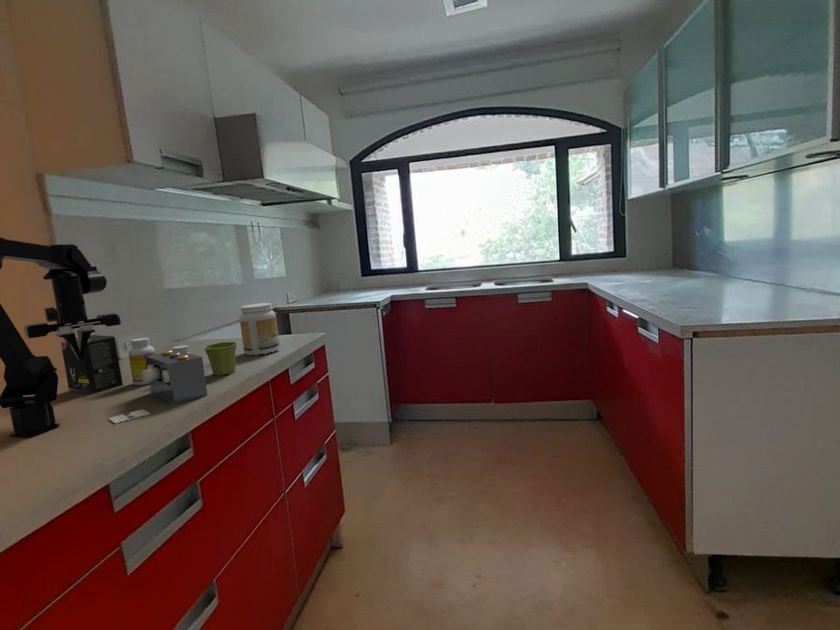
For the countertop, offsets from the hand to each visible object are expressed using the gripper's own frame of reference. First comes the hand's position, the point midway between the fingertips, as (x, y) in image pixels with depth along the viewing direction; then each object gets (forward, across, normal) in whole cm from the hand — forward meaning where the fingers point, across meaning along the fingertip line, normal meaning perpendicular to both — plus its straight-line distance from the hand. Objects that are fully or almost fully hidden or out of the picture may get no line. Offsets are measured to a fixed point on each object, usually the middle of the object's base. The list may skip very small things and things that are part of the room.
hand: (80, 359), depth 121 cm
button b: (+7, -12, +11) cm, 18 cm away
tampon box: (+12, -6, -19) cm, 23 cm away
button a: (+7, -15, +16) cm, 23 cm away
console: (+12, -18, +11) cm, 24 cm away
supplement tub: (+12, -56, -16) cm, 59 cm away
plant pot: (+12, -34, +1) cm, 37 cm away
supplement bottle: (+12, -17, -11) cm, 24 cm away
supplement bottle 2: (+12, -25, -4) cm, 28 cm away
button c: (+7, -15, +5) cm, 17 cm away
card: (+12, -4, +20) cm, 24 cm away
